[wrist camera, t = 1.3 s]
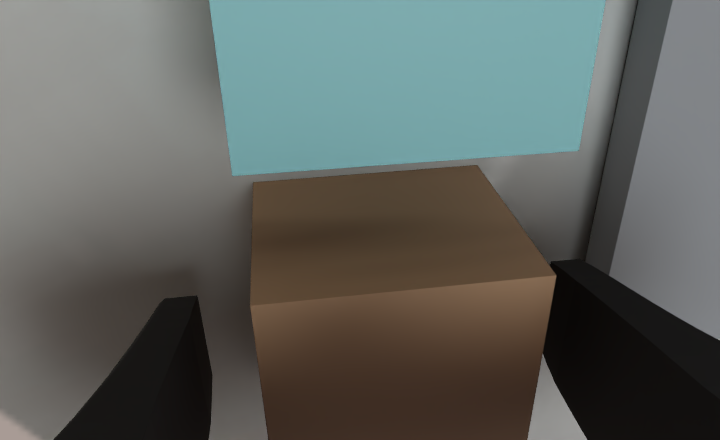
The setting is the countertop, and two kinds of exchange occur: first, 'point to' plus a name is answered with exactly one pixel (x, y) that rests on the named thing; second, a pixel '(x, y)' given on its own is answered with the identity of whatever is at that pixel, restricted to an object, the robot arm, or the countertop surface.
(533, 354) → the walnut brick
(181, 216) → the countertop surface
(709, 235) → the baseplate
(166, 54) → the countertop surface
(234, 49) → the teal brick
